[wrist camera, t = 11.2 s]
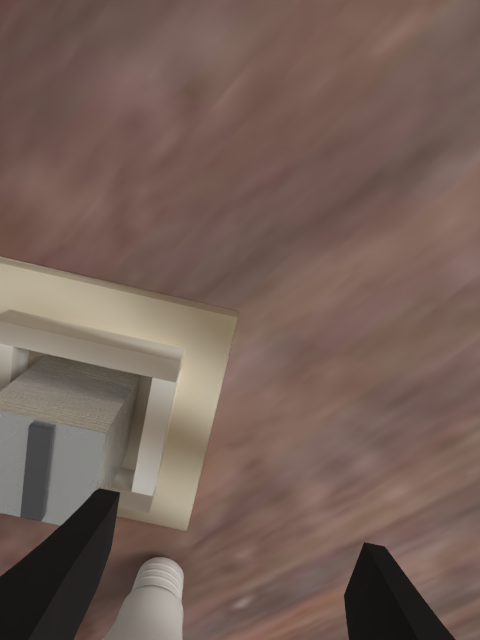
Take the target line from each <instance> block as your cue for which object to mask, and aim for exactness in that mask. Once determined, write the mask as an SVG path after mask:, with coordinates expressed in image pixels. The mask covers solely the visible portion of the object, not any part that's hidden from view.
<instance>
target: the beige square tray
mask: <svg viewBox="0 0 480 640" xmlns="http://www.w3.org/2000/svg"><path fill="white" fill-rule="evenodd" d="M238 313H239V312H238V311H234V310H230V309H225V308H221V307H217V306H212V305H208V304H204V303H199V302H195V301H191V300H186V299H182V298H178V297H173V296H169V295H165V294H160V293H156V292H152V291H147V290H143V289H139V288H134V287H130V286H126V285H121V284H117V283H113V282H108V281H104V280H100V279H95V278H91V277H87V276H82V275H78V274H74V273H69V272H65V271H60V270H56V269H52V268H47V267H43V266H39V265H34V264H30V263H26V262H21V261H17V260H13V259H8V258H4V257H0V391H1V390H3V389H4V388H5V387H6V386H8V385H9V384H10V383H11V382H13V381H14V380H15V379H16V378H18V377H19V376H20V375H21V374H23V373H24V372H25V371H26V370H28V369H29V368H30V367H31V366H33V365H34V364H35V363H36V362H38V361H39V360H40V359H41V358H43V357H44V356H45V355H46V354H48V355H52V356H57V357H61V358H66V359H70V360H75V361H79V362H84V363H88V364H93V365H97V366H102V367H106V368H111V369H115V370H120V371H124V372H129V373H133V374H138V375H140V380H139V386H138V392H137V397H136V403H135V409H134V414H133V420H132V426H131V431H130V437H129V443H128V448H127V454H126V456H125V458H124V461H123V463H122V465H121V467H120V469H119V471H118V473H117V475H116V477H115V479H114V481H113V484H112V486H111V488H110V490H111V491H116V492H120V497H119V503H118V510H117V516H118V517H122V518H127V519H132V520H137V521H142V522H146V523H151V524H156V525H161V526H165V527H170V528H175V529H180V530H184V531H187V528H188V524H189V519H190V515H191V511H192V507H193V503H194V499H195V494H196V490H197V486H198V482H199V478H200V474H201V469H202V465H203V461H204V457H205V453H206V449H207V444H208V440H209V436H210V432H211V428H212V424H213V419H214V415H215V411H216V407H217V403H218V399H219V395H220V390H221V386H222V382H223V378H224V374H225V370H226V365H227V361H228V357H229V353H230V349H231V345H232V340H233V336H234V332H235V328H236V324H237V320H238Z"/></svg>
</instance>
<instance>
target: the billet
mask: <svg viewBox="0 0 480 640" xmlns="http://www.w3.org/2000/svg"><path fill="white" fill-rule="evenodd" d="M139 380H140V375H138V374H133V373H129V372H124V371H120V370H115V369H111V368H106V367H102V366H97V365H93V364H88V363H84V362H79V361H75V360H70V359H66V358H61V357H57V356H52V355H48V354H46V355H45V356H44V357H43V358H41V359H40V360H39V361H38V362H36V363H35V364H34V365H33V366H31V367H30V368H29V369H28V370H26V371H25V372H24V373H23V374H21V375H20V376H19V377H18V378H16V379H15V380H14V381H13V382H11V383H10V384H9V385H8V386H6V387H5V388H4V389H3V390H1V391H0V513H4V514H8V515H13V516H18V517H22V518H27V519H32V520H37V521H42V522H47V523H52V524H56V525H62V524H63V523H64V522H65V521H66V520H67V519H68V518H69V517H70V516H71V515H72V514H73V513H74V512H75V511H76V510H77V509H78V508H79V507H80V506H81V505H82V504H83V503H84V502H85V501H86V500H87V499H88V498H89V497H90V496H91V494H92V493H93V492H94V491H95V490H97V489H99V488H101V489H106V490H110V488H111V486H112V484H113V481H114V479H115V477H116V475H117V473H118V471H119V469H120V467H121V465H122V463H123V461H124V458H125V456H126V454H127V448H128V443H129V437H130V431H131V426H132V420H133V414H134V409H135V403H136V397H137V392H138V386H139Z"/></svg>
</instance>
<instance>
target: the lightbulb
mask: <svg viewBox="0 0 480 640" xmlns="http://www.w3.org/2000/svg"><path fill="white" fill-rule="evenodd" d="M183 579H184V575H183V571H182V569H181V568H180V567H179V565H178V564H177V563H176V562H175V561H173V560H171V559H169V558H165V557H155V558H152V559H150V560H148V561H146V562H145V563H143V565H142V566H141V567H140V569H139V572H138V574H137V577H136V579H135V582H134V585H133V587H132V591H131V593H129V595H128V596H127V597H126V598H125V600H124V602H123V604H122V606H121V609H120V612H119V614H118V617H117V618H116V620H115V622H114V624H113V626H112V628H111V629H110V630H109V631H108V633H107V634H106V635H105V637H104V638H103V639H102V640H182V624H183V607H182V604H181V597H182V589H183Z"/></svg>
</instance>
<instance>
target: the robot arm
mask: <svg viewBox="0 0 480 640" xmlns="http://www.w3.org/2000/svg"><path fill="white" fill-rule="evenodd" d="M119 497H120V492H116V491H111V490H106V489H101V488H99V489H97V490H95V491H94V492H93V493H92V494H91V496H90V497H89V498H88V499H87V500H86V501H85V502H84V503H83V504H82V505H81V506H80V507H79V508H78V509H77V510H76V511H75V512H74V513H73V514H72V515H71V516H70V517H69V518H68V519H67V520H66V521H65V522H64V523H63V524H62V525H61V526H60V527H59V528H58V529H57V530H55V531H54V532H53V533H52V534H51V535H50V536H49V537H48V538H47V539H46V540H45V541H43V542H42V543H41V544H40V545H39V546H38V547H36V548H35V549H34V550H33V551H32V552H30V553H29V554H28V555H27V556H26V557H24V558H23V559H22V560H21V561H20V562H18V563H17V564H16V565H15V566H13V567H12V568H11V569H10V570H8V571H7V572H6V573H4V574H3V575H2V576H0V640H73V639H74V637H75V635H76V632H77V630H78V628H79V626H80V624H81V622H82V620H83V617H84V615H85V613H86V611H87V609H88V607H89V604H90V602H91V600H92V598H93V596H94V594H95V591H96V589H97V587H98V584H99V582H100V579H101V576H102V573H103V570H104V568H105V565H106V562H107V559H108V556H109V553H110V550H111V546H112V540H113V534H114V528H115V522H116V516H117V510H118V503H119ZM344 600H345V610H346V619H347V627H348V635H349V640H455V639H454V637H453V636H452V635H451V634H450V633H449V631H448V630H447V629H446V628H445V626H444V625H443V624H442V622H441V621H440V620H439V619H438V617H437V616H436V615H435V614H434V612H433V611H432V610H431V608H430V607H429V606H428V604H427V603H426V602H425V600H424V599H423V598H422V596H421V595H420V594H419V592H418V591H417V590H416V588H415V587H414V586H413V584H412V583H411V582H410V580H409V579H408V577H407V576H406V575H405V573H404V572H403V571H402V569H401V568H400V566H399V565H398V564H397V562H396V561H395V560H394V558H393V557H392V556H391V554H390V553H389V552H388V550H387V549H386V548H385V547H384V546H379V545H375V544H370V543H365V542H364V544H363V547H362V550H361V552H360V555H359V557H358V560H357V563H356V565H355V568H354V571H353V573H352V576H351V578H350V581H349V584H348V586H347V589H346V592H345V594H344Z"/></svg>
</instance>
